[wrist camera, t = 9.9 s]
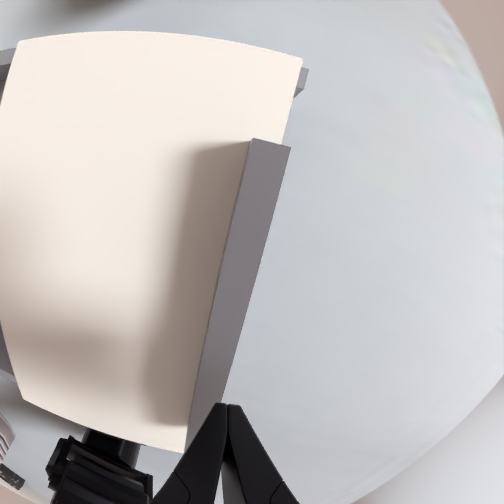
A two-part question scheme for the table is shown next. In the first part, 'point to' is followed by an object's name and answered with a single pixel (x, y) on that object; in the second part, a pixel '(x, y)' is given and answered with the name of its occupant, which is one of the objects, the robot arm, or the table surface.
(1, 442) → the can
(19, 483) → the disk drive
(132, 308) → the lid
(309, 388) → the table surface
